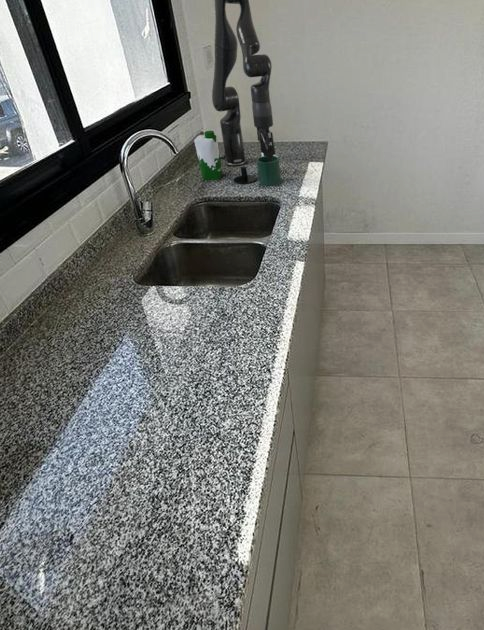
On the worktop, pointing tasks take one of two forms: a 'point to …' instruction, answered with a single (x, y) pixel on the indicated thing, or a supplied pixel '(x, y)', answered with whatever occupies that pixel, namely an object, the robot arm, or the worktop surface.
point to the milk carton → (208, 156)
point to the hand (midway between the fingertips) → (267, 155)
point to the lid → (244, 177)
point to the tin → (269, 171)
